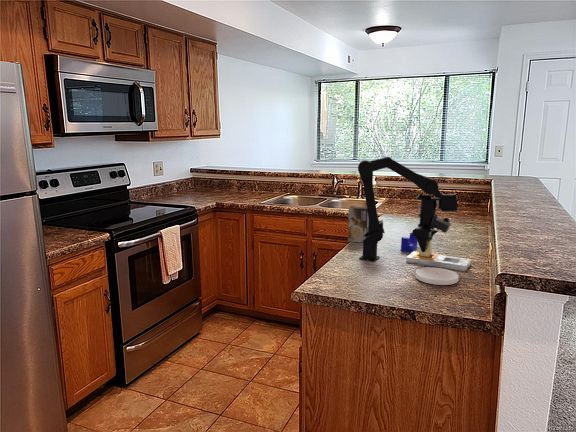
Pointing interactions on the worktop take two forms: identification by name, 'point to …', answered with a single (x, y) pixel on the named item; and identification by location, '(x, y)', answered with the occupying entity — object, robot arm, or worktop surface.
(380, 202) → the worktop surface
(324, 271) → the worktop surface
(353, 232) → the coffee box
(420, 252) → the beige rectangular block
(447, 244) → the worktop surface
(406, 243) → the blue curved block
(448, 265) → the grey plate with holes
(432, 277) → the plastic lid
